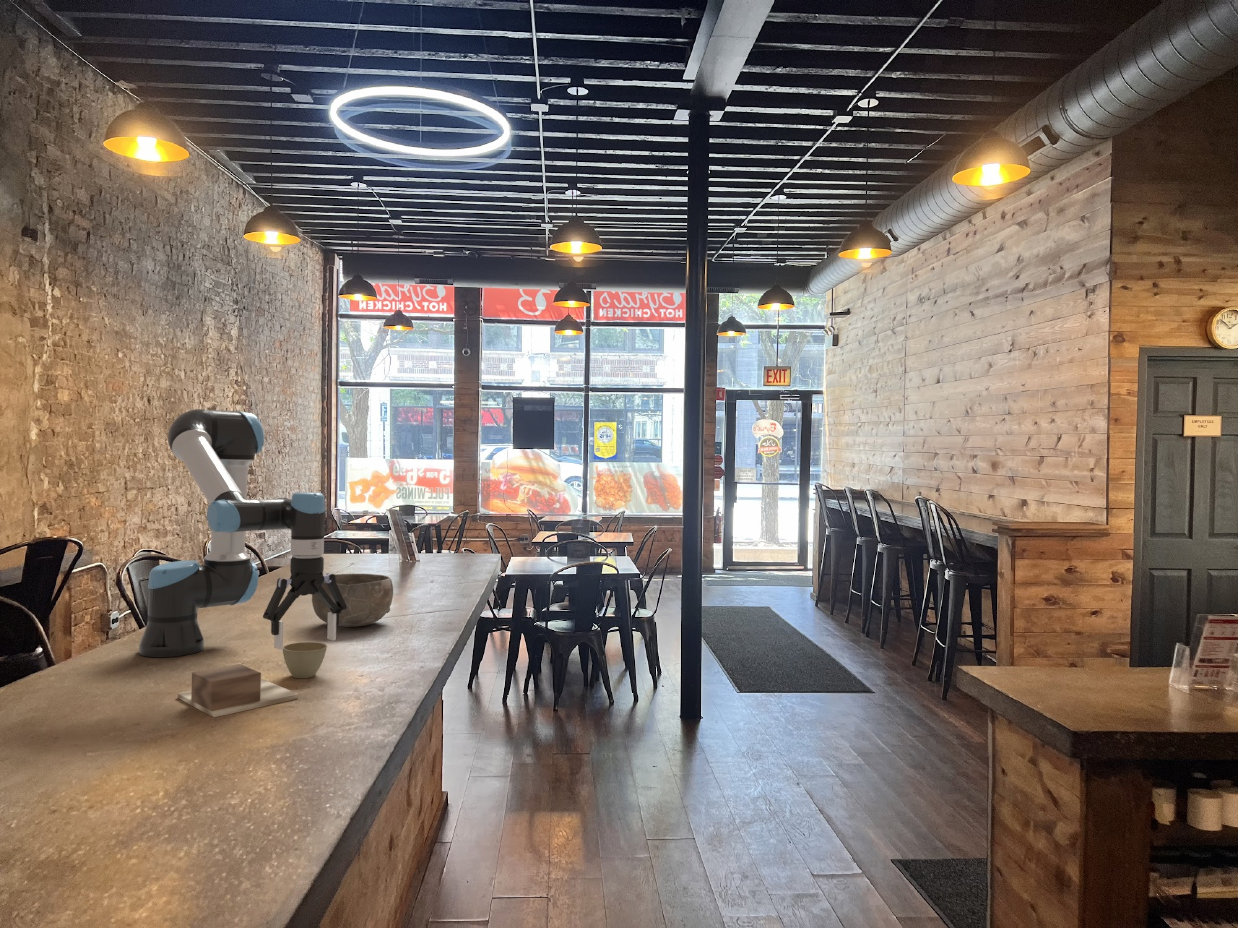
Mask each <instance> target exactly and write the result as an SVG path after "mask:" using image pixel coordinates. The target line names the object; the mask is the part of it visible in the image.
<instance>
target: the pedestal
mask: <svg viewBox="0 0 1238 928" xmlns="http://www.w3.org/2000/svg"><path fill="white" fill-rule="evenodd" d="M261 678H262V672H259V671H258V670H255V669H252V668H250V667H248V666H247V665H246V666H245V665H243V664H241V663H237V664H231V665H225V666H220V667H214V668H208V669H203V670H197V671H193V672H191V691H192V692H191V701H193V702H195V703H197V704H199V705H201V706H203V707H205V708H206V709H208V710H210V711H216V710H220V709H225V708H230V707H234V706H239V705H244V704H248V703H253V702H257V701H260V690H261Z"/></svg>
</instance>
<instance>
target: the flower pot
mask: <svg viewBox="0 0 1238 928" xmlns="http://www.w3.org/2000/svg"><path fill="white" fill-rule="evenodd" d="M327 646H328V645H327V644H325V643H323V642H319V641H317V642H316V641H301V642H300V641H299V642H293V643H292V642H291V643H287V644H285V645H283V649H282V655H283V659H284V663H285V665H286V668H287V670H288V671H289V673H290V675H291V676H292V677H293V678H296V679H309V678H313V677H314V676H316V674H317V672H319V670H320V668H321V666H322V664H323V661H324V659H325V656H326V652H327V648H328V647H327Z"/></svg>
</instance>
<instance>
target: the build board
mask: <svg viewBox="0 0 1238 928" xmlns="http://www.w3.org/2000/svg"><path fill="white" fill-rule="evenodd" d="M191 692H192V690H189V691H188V690H187V691H183V692H178V693H177V699H179V700H181V701H183V702H184V703H186V704H188V705H190V706H192V707H194V708H196V709H197V710H199V711H201V712H202V713H205V714H206V715H209V716H211V717H212V718H217V717H221V716H222V717H223V716H226V715H231V714H235V713H240V712H243V711H244V712H245V711H249V710H252V709H253V710H254V709H258V708H262V707H267V706H271V705H275V704H280V703H286V702H289V701H294V700H298V699H299V693H297V692H294V691H292V690H289V689H288V688H285V687H283V686H280V685H279V684H275V683H273V682H271V681H268V680H266V679H264V678H262V677H261V690H260V701H257V702H253V703H248V704H244V705H239V706H234V707H230V708H225V709H220V710H216V711H210V710H208V709H206V708H205V707H203V706H201V705H199V704H197V703H195V702H193V701H191Z"/></svg>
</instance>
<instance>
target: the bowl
mask: <svg viewBox="0 0 1238 928" xmlns="http://www.w3.org/2000/svg"><path fill="white" fill-rule="evenodd" d="M334 575H335V578H336V584H337V586H338V588H339V591H340V593H341V595H342V597H343V599H344V601H345V604H346V606H347V608H346V609H345V610H342V612H341V613H340V614H339V625H338V626H337V627H342V628H343V627H344V628H345V627H348V628H349V627H350V628H351V627H363V626H368V625H371V624H375V623H377V622H378V621H380V620H382V619H383V618H384V616H386V614H389V613H390V612H391V605H392V603H393V597H394V584H393V580H392V578H391V577H390V576H388V575H383V574H376V573H375V574H373V573H341V574H334ZM321 586H322V587H323V589H324V590H325V591H326V593H327V594H328V596H329V597H330V598H331V599H332V600H333V602H334V603H335V601H334V599H333V597H332V594H331V592H330V590H329V588H328V586H327V583H325V581H324V582H323V583H322V585H321ZM311 602H312V608H313V610H314V611H313V612H314V613H315V615H316V616H317V617H318V618H319V619H320V620H321V621H322V622H324V623H326V624H328V613H330V612H331V613H332V611H331V610H330V609H329V608H328V607H327V606H326V605H325V603H324V602H323V601H322V600H321V599H320V598H319V596H318V595H317V594H313V595H311ZM335 604H336V603H335Z"/></svg>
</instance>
